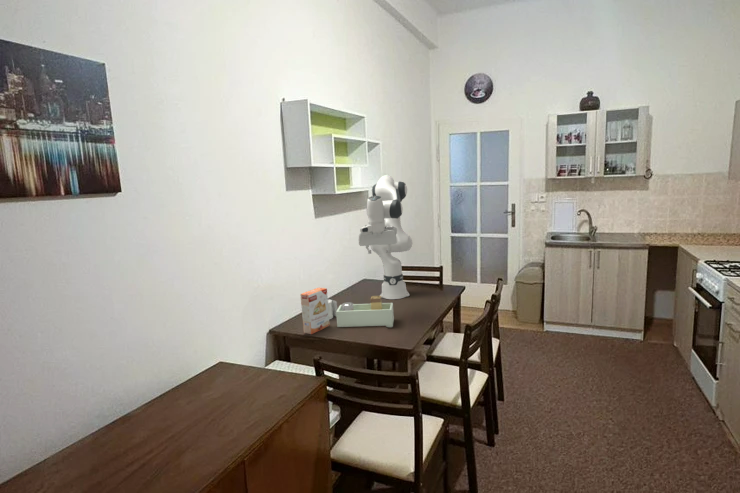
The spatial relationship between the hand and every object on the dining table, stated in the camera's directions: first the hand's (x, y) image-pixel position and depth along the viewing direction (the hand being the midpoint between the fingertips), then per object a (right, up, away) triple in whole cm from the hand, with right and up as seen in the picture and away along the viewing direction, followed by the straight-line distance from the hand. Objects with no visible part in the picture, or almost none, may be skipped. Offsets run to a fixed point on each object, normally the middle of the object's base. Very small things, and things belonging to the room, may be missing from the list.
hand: (378, 253), depth 234 cm
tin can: (-16, -36, -5) cm, 40 cm away
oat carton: (-1, -35, -7) cm, 36 cm away
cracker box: (-31, -39, -11) cm, 51 cm away
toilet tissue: (-29, -36, +7) cm, 47 cm away
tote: (-7, -37, -6) cm, 38 cm away
